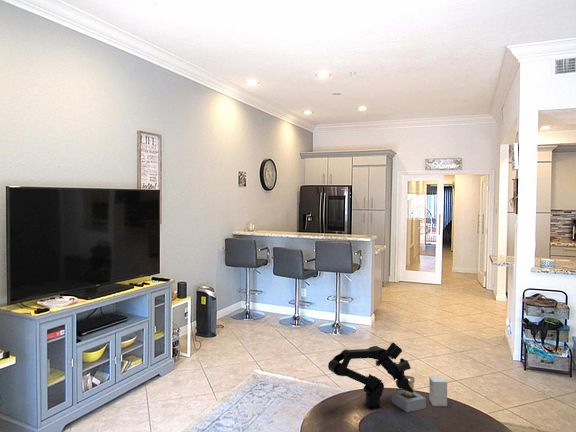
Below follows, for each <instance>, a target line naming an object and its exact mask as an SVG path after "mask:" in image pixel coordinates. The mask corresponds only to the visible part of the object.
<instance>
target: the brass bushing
mask: <svg viewBox="0 0 576 432" xmlns="http://www.w3.org/2000/svg"><path fill="white" fill-rule="evenodd" d="M405 376H406V377H407V378H408V380H409V382H408V384H409V385H410V387H411V388H412V390H413V391H414V388H415V387H414V383H415V381H416V380H415V377H414V376H410V375H405ZM402 391H403V397H405V398H407V399H410V398H413V393H411V392H408V391H406V390H403V389H402ZM414 392H415V391H414Z"/></svg>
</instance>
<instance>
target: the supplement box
mask: <svg viewBox="0 0 576 432" xmlns="http://www.w3.org/2000/svg"><path fill="white" fill-rule="evenodd" d="M428 380H429V393H428V394H429V398H428V400H429V401H430V403H431V405H432V407H448V381H447V380H446V379H445V377H443V376H434V375H433V376H431V375H430V376H429V379H428Z"/></svg>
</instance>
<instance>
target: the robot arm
mask: <svg viewBox="0 0 576 432" xmlns="http://www.w3.org/2000/svg"><path fill="white" fill-rule="evenodd" d="M402 352H403V349H402V348H401V347H400V346H399V345H397V344H396V343H395V342H391V343H390V345H388V348H387V349H386V348H384V347H383V348H382V347H380V346H378V345H374V346H373V345H372V346H370V347H368V348H360V349H357V348H356V349H346V348H345V349H343V350H342V351H341V352H340V353H339V354H337V355H335V356H334V357H333V358H332V359H331V360H330V361H329V362H328V364H327V367H328V368H327V369H328V370H329V371H331V373H333V374H335V375H336V376H340V377H347V378H350V379H351V380H354V381H356V382H358V383H360V384H363V385H364V386H363V387H362V389H363V392H365V403H363V405H364V406H365V407H367V408H368V409H369V410H370V411H371V410H377V409H380V408H382V406H381V397H382V395H383V391H384V388H385V384H384V382H383V380H382V379H380V378H379V377H377V376H375V375H372V374H370V373H369V374H368V376H367V375H364V374H362V373H359V372H357V371H355V370H353V369H351V368H348V367H349V363H350V362H351V360H355V359H356V360H357V359H371V360H375V366H377V367H380V366H382V368H383V369H384V370H385V371H386V372H387V374H388V375H390V376H391V377H392V378H393V380H394V381H395V385H396V387H397V388H398V389H399V390H402V391H403V390H406V391H408V392H411V393H413V392H415V391H413V390H412V388H411V387H410V385H409V384H408V382H409V380H408V378H407V377H406V376H407V375H405V372H406V371H408V370H411V368H412V367H411V365H410V363H409V361H408V359H405V358H400V359H399V362H398V363H396V362H395V361H393V360H396V359H397V358H398V357H399V356H400V354H401V353H402ZM341 361H342V362H341Z"/></svg>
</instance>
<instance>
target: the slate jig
mask: <svg viewBox="0 0 576 432" xmlns="http://www.w3.org/2000/svg"><path fill="white" fill-rule="evenodd" d="M391 403H392V404H393V405H395V406H396V407H398V408H400V409H401V410H402V411H405V413H409V412H410V411H411V412H414V411H418V410H423V409H426V408H427V398H426V397H425V396H422V395H421V394H420V393H418V392H416V391H414V392H413V398H410V399H407V398H405V397H403V390H398V391H394V392H391ZM411 412H410V413H411Z"/></svg>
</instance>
